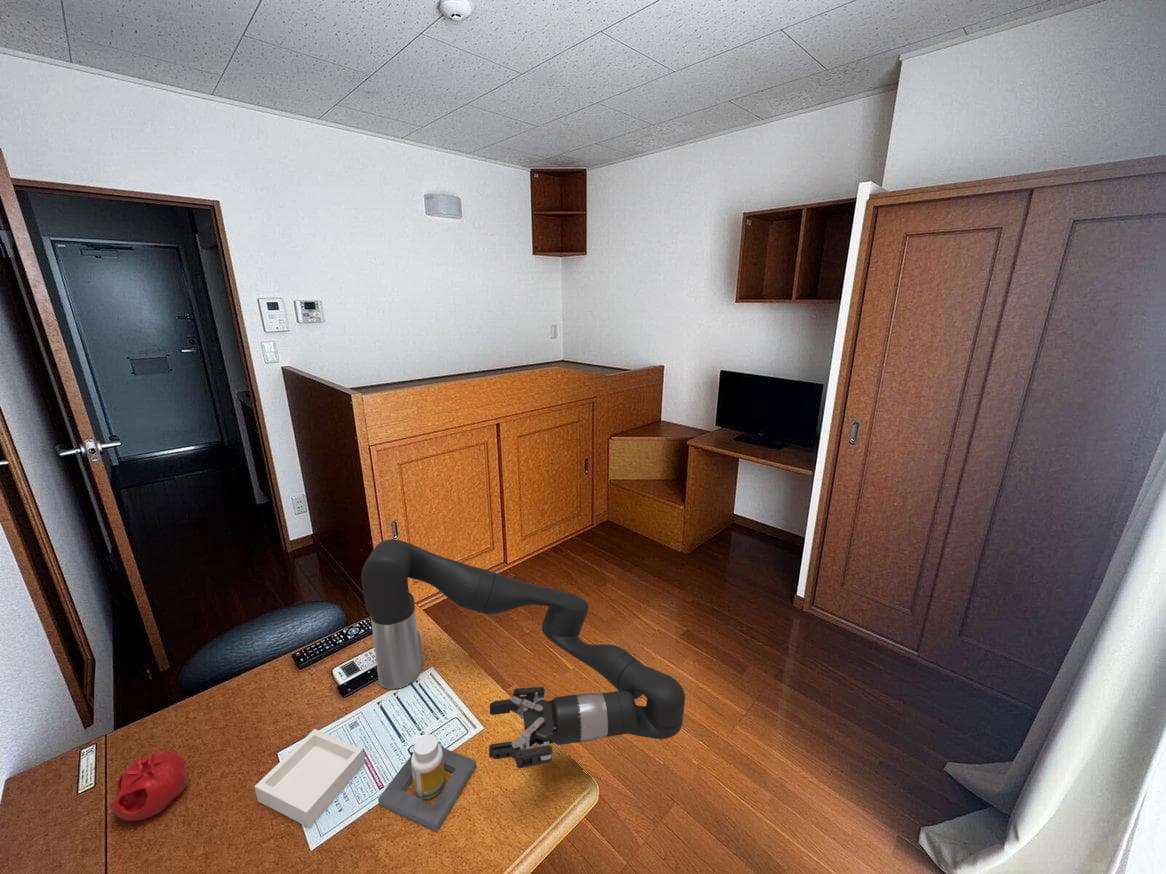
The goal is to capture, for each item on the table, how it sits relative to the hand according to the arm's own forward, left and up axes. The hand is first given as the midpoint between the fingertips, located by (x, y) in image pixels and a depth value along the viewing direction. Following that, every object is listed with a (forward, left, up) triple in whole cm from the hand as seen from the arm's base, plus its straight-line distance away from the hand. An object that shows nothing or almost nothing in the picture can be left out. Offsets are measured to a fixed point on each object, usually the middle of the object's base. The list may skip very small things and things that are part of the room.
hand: (489, 729), depth 82 cm
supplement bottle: (+5, -10, -12) cm, 17 cm away
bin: (+12, -30, -12) cm, 34 cm away
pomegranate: (+24, -53, -12) cm, 59 cm away
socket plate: (+5, -10, -12) cm, 16 cm away
